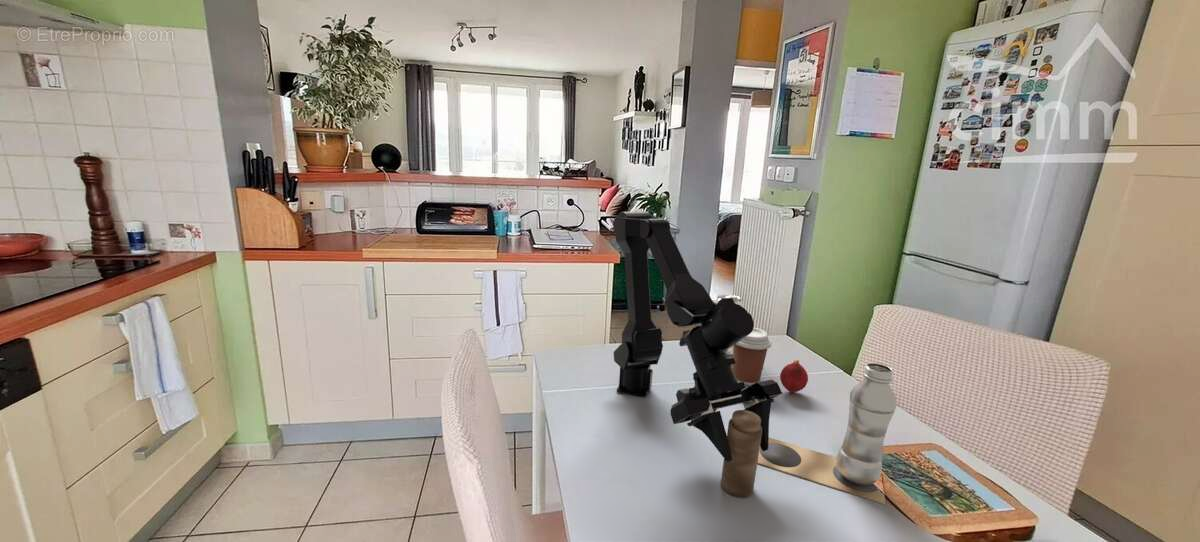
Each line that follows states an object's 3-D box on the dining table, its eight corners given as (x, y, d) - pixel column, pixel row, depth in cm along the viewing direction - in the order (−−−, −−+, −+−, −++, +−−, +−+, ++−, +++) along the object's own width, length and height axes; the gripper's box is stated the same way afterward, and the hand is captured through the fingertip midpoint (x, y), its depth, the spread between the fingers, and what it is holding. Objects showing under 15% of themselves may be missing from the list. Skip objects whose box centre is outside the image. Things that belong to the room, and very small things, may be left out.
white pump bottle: (737, 348, 130) (744, 296, 126) (735, 358, 124) (742, 304, 120) (711, 344, 132) (717, 293, 128) (708, 353, 126) (715, 300, 122)
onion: (807, 400, 103) (813, 367, 101) (780, 397, 104) (785, 363, 103) (802, 388, 109) (807, 356, 107) (776, 384, 110) (781, 353, 108)
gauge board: (746, 460, 82) (746, 459, 82) (755, 434, 90) (755, 433, 90) (885, 504, 73) (885, 503, 73) (881, 471, 81) (881, 470, 81)
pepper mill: (719, 493, 73) (729, 422, 70) (721, 473, 78) (730, 406, 75) (753, 501, 72) (764, 429, 69) (752, 480, 77) (763, 412, 74)
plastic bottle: (826, 465, 81) (846, 358, 76) (862, 465, 82) (885, 359, 77) (848, 491, 75) (871, 377, 70) (887, 491, 76) (914, 377, 71)
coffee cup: (773, 387, 109) (780, 339, 106) (736, 388, 107) (742, 339, 104) (754, 369, 117) (761, 324, 114) (720, 370, 116) (725, 325, 113)
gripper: (728, 368, 90) (762, 453, 83) (643, 384, 82) (673, 479, 75) (763, 346, 81) (805, 438, 74) (672, 361, 73) (709, 466, 66)
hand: (747, 455), depth 72 cm, fingers open, 7 cm apart
